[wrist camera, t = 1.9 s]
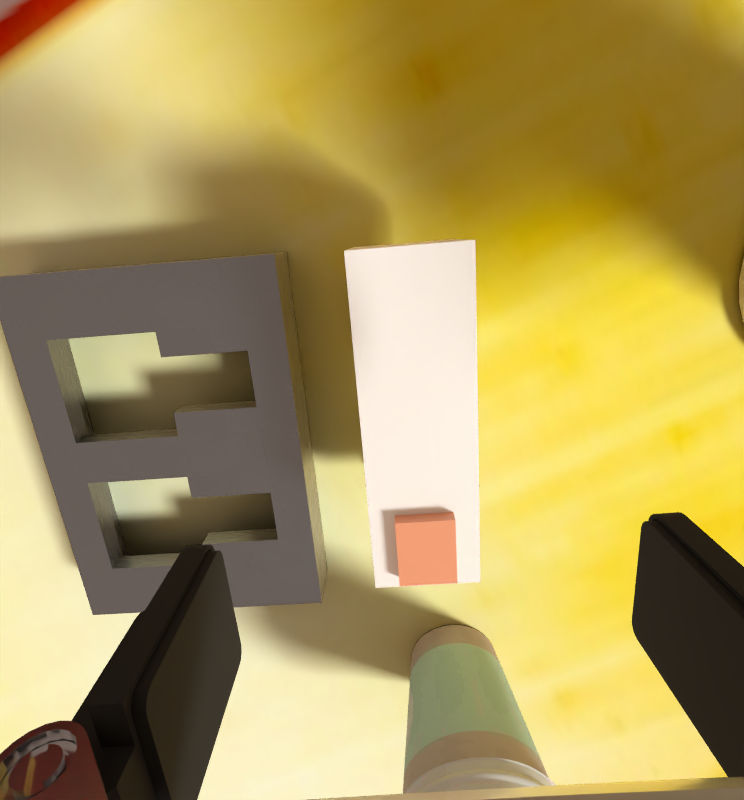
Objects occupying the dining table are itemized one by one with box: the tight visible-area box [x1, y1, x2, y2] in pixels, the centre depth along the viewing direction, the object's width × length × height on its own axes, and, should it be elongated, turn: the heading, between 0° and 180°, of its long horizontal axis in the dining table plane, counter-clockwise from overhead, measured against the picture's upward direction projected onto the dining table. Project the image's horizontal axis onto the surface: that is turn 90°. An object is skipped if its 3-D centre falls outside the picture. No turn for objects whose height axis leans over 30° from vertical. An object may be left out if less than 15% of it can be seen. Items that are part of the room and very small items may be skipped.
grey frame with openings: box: [0, 252, 327, 615], centre depth 28 cm, size 14×20×3 cm
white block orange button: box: [344, 239, 480, 588], centre depth 23 cm, size 4×14×10 cm, turn 5°
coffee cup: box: [403, 625, 556, 794], centre depth 29 cm, size 8×9×12 cm
